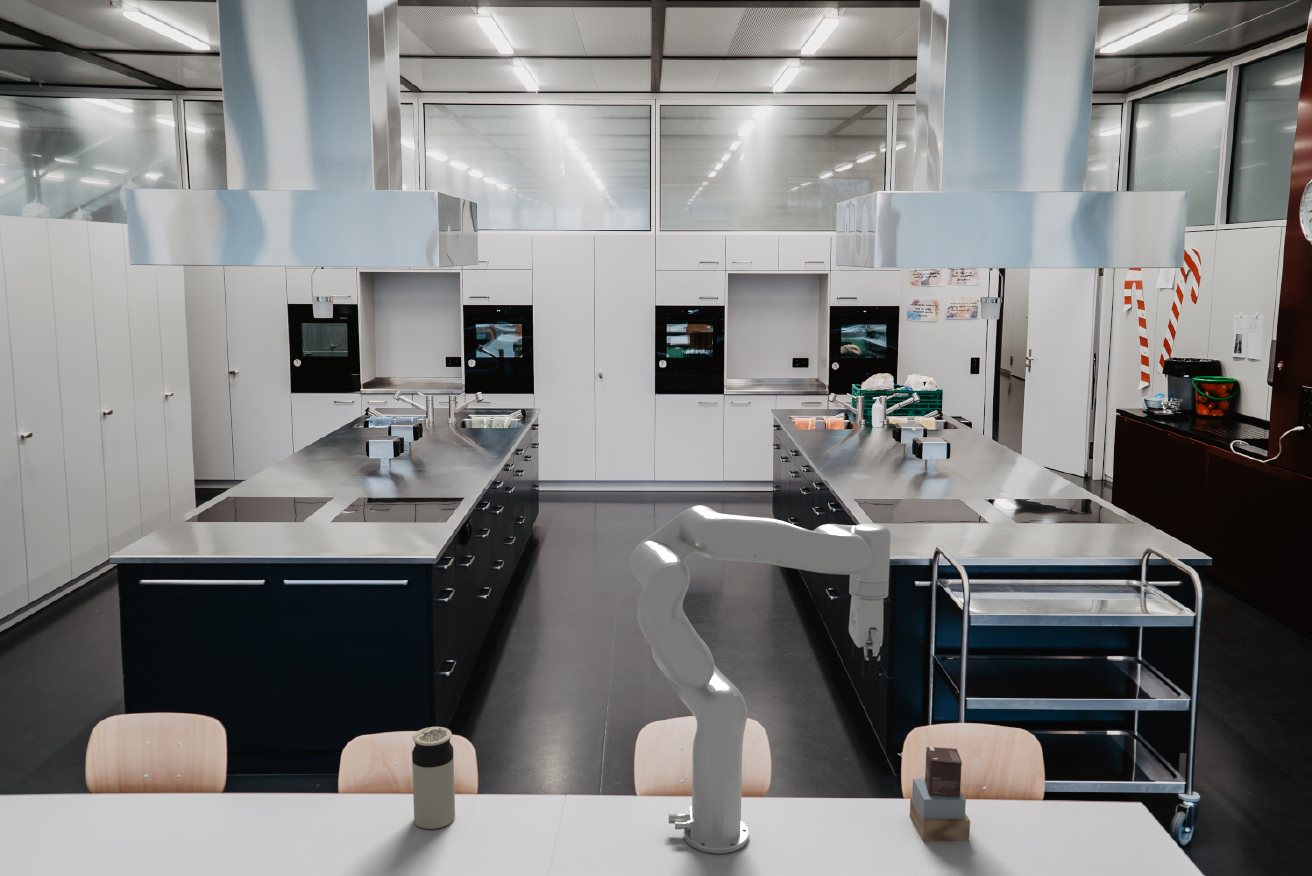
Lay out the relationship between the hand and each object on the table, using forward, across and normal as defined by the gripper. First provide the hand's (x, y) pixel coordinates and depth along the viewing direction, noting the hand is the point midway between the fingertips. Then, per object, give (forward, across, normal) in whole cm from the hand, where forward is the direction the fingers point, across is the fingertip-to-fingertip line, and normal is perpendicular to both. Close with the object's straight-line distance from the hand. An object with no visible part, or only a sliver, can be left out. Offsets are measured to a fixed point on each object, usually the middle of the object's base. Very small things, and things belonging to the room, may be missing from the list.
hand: (865, 669), depth 190 cm
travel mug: (+31, +5, -86) cm, 91 cm away
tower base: (+31, +6, +14) cm, 34 cm away
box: (+22, +6, +15) cm, 27 cm away
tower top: (+26, +6, +14) cm, 30 cm away
